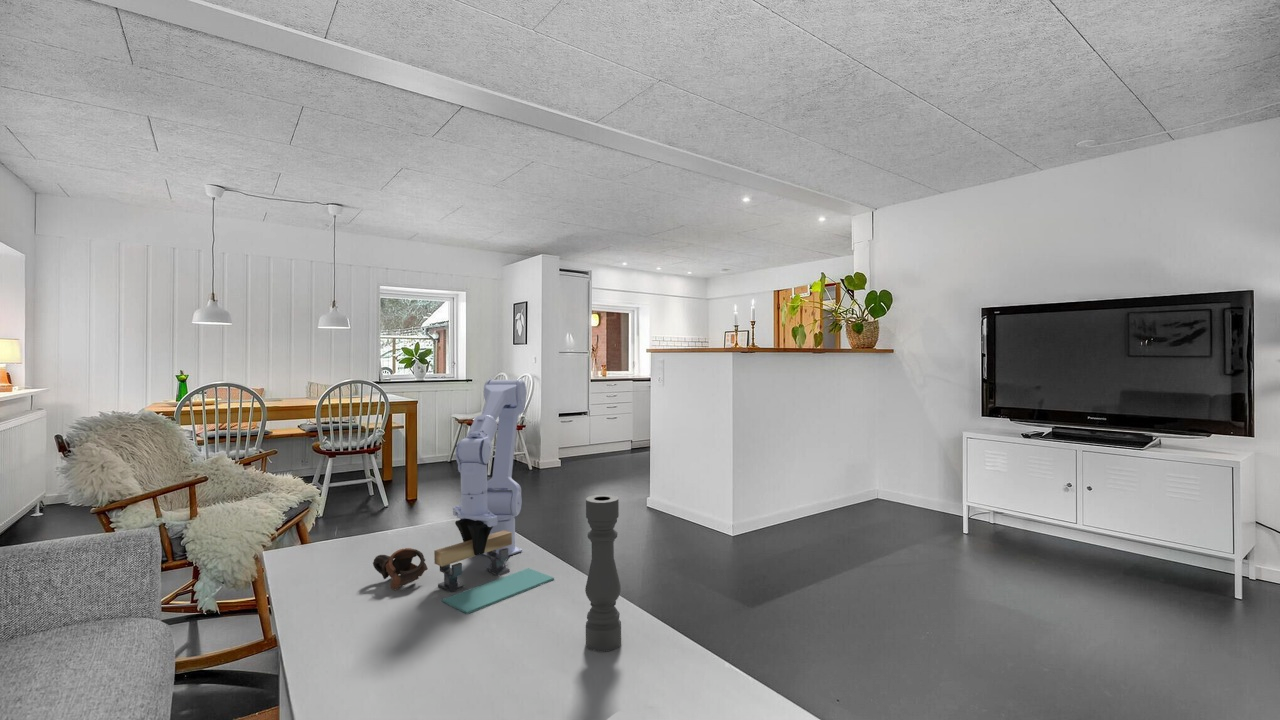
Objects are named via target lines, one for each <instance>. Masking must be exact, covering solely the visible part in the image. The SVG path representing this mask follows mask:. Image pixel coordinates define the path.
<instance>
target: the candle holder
mask: <svg viewBox="0 0 1280 720" xmlns="http://www.w3.org/2000/svg"><path fill="white" fill-rule="evenodd" d="M619 510H620V508H619V496H616V495H613V494H595V495H589V496H587V497H586V498H585V518H586V519H587V523H588V525H589V528H590V529H591V530H589V532H588V533H587V539H589V541H590V543H591V560H590V566H589V570H588V574H587V579H586V585H585V589H584V591H585V595H586V598H587V599H588V600H589V602H590V603H589V604H590V606H591V607H590V609H589V611H588V612H587V614H586V615H587V616H586V619H587V621H586V622H585V645H587V646H586V647H587V648H588V649H590V650H591V651H596V652H601V653H602V652H609V651H614V650H615V649H618V648H620V646H621V644H622V621H621V620H620V614H621V613H620V611H619V610H618V609H617V608H616V604H617V600H618V599H619V597H620V594H621V589H622V588H621V582H620V577H619V574H618V569H617V565H616V560H615V556H614V555H615V552H614V551H615V549H614V548H615V546H614V544H615V540H616V539H617V538H618V532H617V530H615V526H616V524H617V523H618V518H619V515H620V514H619V513H620V512H619Z"/></svg>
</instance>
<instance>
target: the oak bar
mask: <svg viewBox="0 0 1280 720" xmlns="http://www.w3.org/2000/svg"><path fill="white" fill-rule="evenodd" d="M511 544H512V532H509V531H505V530H503V531H500V532H496V533H493V534H489V536H488V539H487V543H486V547H485V551H484V553H486V552H489V551H493V550H496V549H499V548H502V547H505V546H508V545H511ZM433 555H434V556H433V557H434V564H435V565H437V566H439V567H440V566H441V567H442V566H445V565H448V564H450V565H451V564H452V565H453V564H454V563H455V564H456V563H459V562H460V561H464V560H467V559H470V558H473V557H476V555H475V554H474V550H473V541H472V540H469V541H465V542H463V541H462V542H459V543H456V544H452V545H449V546H445V547H443V548H438V549H435V550H434V554H433Z"/></svg>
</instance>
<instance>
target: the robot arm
mask: <svg viewBox="0 0 1280 720" xmlns="http://www.w3.org/2000/svg"><path fill="white" fill-rule="evenodd" d="M483 396H484V397H483V399H484V400H485V403H484V406H483V409H482V412H481V414H480V415H478V416H475V418H474V420H473V422H472V423H471V426H470V427H469V430H468V433H467V434H466V436H465V438H462V439H461V440H459V441H457V445H456V449H455V460H456V464H457V470H458V473H460V505H455V506H453V507H452V515H453V517H454V516H455V517H456V518H457V520H456V521H455V522H454V523H455V527H456V528H457V530H458V531H459V533H460V535H461V538H462V542H465V541H469V540H472V541H473V550H474V554H475V555H476V556H480V555H484V556H487V552H486V553H484V551H485V547H486V543H487V539H488V536H489V534H493V533H496V532H500V531H503V530H505V531H509V532H512V544H511V545H508V546H505V547H502V548H499V549H496V553H498V554H499V550H502V549H505V548H508V557H509V556H511V555H514V554H517V553H520V552H523V548H520V547H517V546H516V517H518V515H519V514H520V513H521V510H522V504H523V499H522V487H521V485H520V484H519V483H518V482H517V481H515V480H514V479H513V478H512V477H513V467H514V457H515V447H516V437H517V426H518V420H519V416H520V415H521V414H523V413H524V412H525V408H526V404H527V403H526V400H527V386H526V383H525V381H524V380H523V379H521V378H520V379H491V378H489V379H487V380H486V382H485V383H484V387H483ZM497 419H498V422H497ZM495 435H496V441H495V452H494V460H493V466H492V467H493V468H492V469H493V470H492V477H490V479H488V463H489V462H490V460H491V458H492V449H493V439H494V438H495ZM476 556H475V557H476Z"/></svg>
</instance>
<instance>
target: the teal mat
mask: <svg viewBox="0 0 1280 720" xmlns="http://www.w3.org/2000/svg"><path fill="white" fill-rule="evenodd" d="M554 580H555V577H553V576H552V575H548V574H545V573H542V572H540V571H538V570H535V569H532V568H530V567H527V568H525V569H522V570H519V571H517V572H514V573H511V574H509V575H506V576H503V577H501V578H498V579H495V580H491V581H489V582H486V583H484V584H480V585H478V586H475V587H473V588H470V589H466V590H464V591H461V592H458V593H456V594H454V595H451V596H447V597H445V598H441V600H442V601H441V602H443V603H445V604H447V605H449V606H450V605H451V607H452V608H454V607H455V608H454V609H457V610H458V611H459V612H462V613H464V614H466V615H468V614H470V613H474V612H475V611H478V610H481V609H483V608H485V607H488V606H491V605H494V604H496V603H499V602H501V601H503V600H505V599H509V598H511V597H514V596H516V595H518V594H521V593H523V592H527V591H529V590H531V589H534V588H535V587H538V586H541V585H543V584H546V583H549V582H551V581H554Z"/></svg>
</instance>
